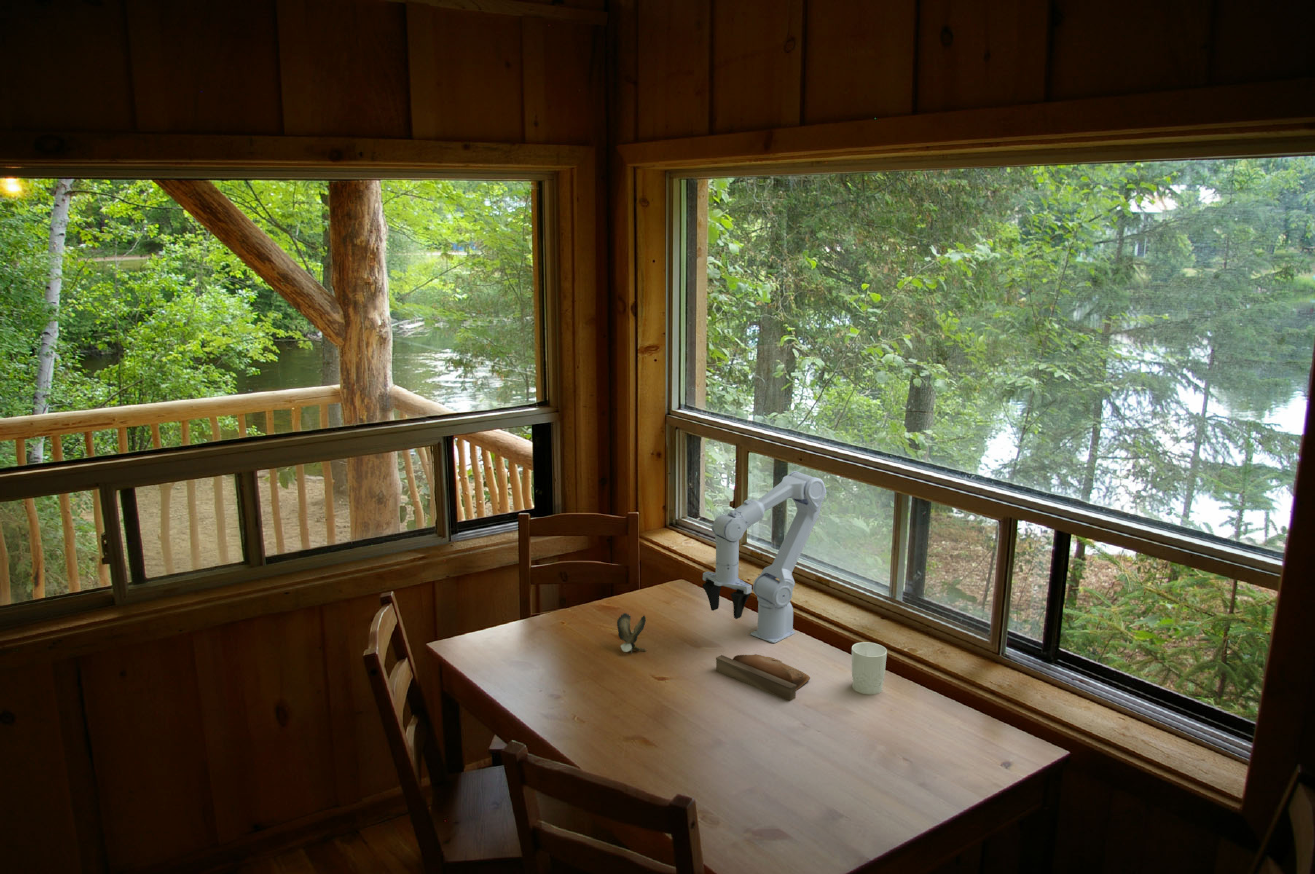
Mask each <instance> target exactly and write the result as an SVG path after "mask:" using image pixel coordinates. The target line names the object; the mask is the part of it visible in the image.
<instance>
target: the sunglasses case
mask: <svg viewBox="0 0 1315 874" xmlns="http://www.w3.org/2000/svg"><path fill="white" fill-rule="evenodd" d="M732 659H733V660H736V661H738V662H741V663H743V664H746V665H748V666H750V667H753V668H755V669H758V670H760V671H763V672H765V673H768V674H770V675H773V676H775V677H778V678H780V679H783V680H785V681H788V682H790V683H793V684H795V685H797V687H796V692H797V691H798V690H800V689H801V688H802V687H803V686H805V684H807V683H808V682H809V681H810V679H811V677H810V676H809V675H808V674H807V673H805V672H804V671H801V670H799V669H797V668H795V667H793V666H790V665H789V664H786V663H783V661H782V660H779V659H777V658H774V657H770V656H764V655H761V654H756V653H755V654H737V655H735V656H733V657H732Z"/></svg>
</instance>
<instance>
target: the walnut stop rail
mask: <svg viewBox="0 0 1315 874" xmlns="http://www.w3.org/2000/svg"><path fill="white" fill-rule="evenodd" d="M715 660H716V662H715V665H716V668H715V669H716V671H717V672H719V673H721V674H723V675H726V676H728V677H731V678H733V679H736V680H738V681H740V682H743V683H745V684H747V685H750V686H753V687H755V688H757V689H760V690H762V691H765V692H767V693H769V694H772V695H774V696H776V697H778V698H779V697H780V698H782V699H784V700H786V701H789V702H791V701H793V700H795V699H796V696H797V695H796V694H797V691H796V687H797V685H795V684H793V683H790V682H788V681H785V680H783V679H780V678H778V677H775V676H773V675H770V674H768V673H765V672H763V671H760V670H758V669H755V668H753V667H750V666H748V665H746V664H743V663H741V662H738V661H736V660H733V658H731V657H727V656H725V655H722V654H721V655H719V656H716V657H715Z"/></svg>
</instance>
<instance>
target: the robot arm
mask: <svg viewBox="0 0 1315 874" xmlns="http://www.w3.org/2000/svg"><path fill="white" fill-rule="evenodd" d="M827 492H828V491H827V489H826V486H825V483H824V480H822V479H821V478H819V477H814V476H811V475H809V474H805V473H803V472H802V473H801V471H797V470H795V471H791V472H790V473H788V475H785V476H783V477H782V480H781V482H779V483H778V484H777V485H775V486H774V487H773V488H772V489H770V490H769V491H767V492H766V493H765V494H763V495H762V496H761V497H760V498H758V499H757V500H756V499H752V498H751V499H746V500H744V501H743V503H742V504H741V505H739V506H738V507H736V508H735V509H731V510H729V513H727V514H726V513H725V514H720V515H718V516H717V517H716V518H715V519H714V521H713V524H712V525H711V532H712V534H714V537H715V538H714V539H715V572H713V571H705V572H703V573H702V580H703V581H704V583H702V588H703V590H704V591H705V593H706V594H705V595H706V596H707V599H708V602H709V605H710V610H711V611H713V612H714V611H716V610H718V609H719V607H720V593H721V590H722V589H721V588H722V586H723V587H726V588H729V589H732V590H736V591H734V592H731V593H730V597H731V599H732V604H733V619H735V620H738V619H741V617H742V616H743V611H744V608H745V605H746V603H747V601H748V599H749V597H750V596H751V594H752V591H753V593H754V595H755V596H756V597H757V599H756V600H757V601H758V603H757V604H758V607H757V630H754V631H752V632H750V636H753V637H755V638H758V639H760V640H764V641H766V642H769V643H772V644H775V643H778V642H780V641H782V640H784V639H786V638H788V637H791V636H792V635H795V634H796V631H795V630H793V629H794V626H793V625H794V608H793V605H792V603H791V600H792V598H793V591H794V587H795V586H796V581H795V579H794V577H793V574H792V573H793V571H794V569H795V567H796V565H797V562H798V560H799V558H800V556H801V554H802V553H803V550H804V547H805V546H806V543H807V542H808V539H809V537H810V536H811V532H812V531H813V528H814V527H815V524H816V522H817V520H818V518H819V516H820V514H821V510H822V504H823V503H822V502H823V501H824V499H825V496H826V494H827ZM788 499H791V500H792V501H793V503H794V504H795V508H796V510H797V511H796V514H795V515H794V518H793V520H792V522H791V524H790V526H789V527H788V528H789V529H788V530H787V532H786V534H785V537H784V539H783V541H782V542H781V545H780V547H779V549H778V552H777V553H776V556H775V557H774V560H773V562H772V564H770V565H768V566H765V567H764V568H763V569H762V571H761V572H760V574H759V575H758V576H757V577H756V578H755V579H754V581H753V583H752V584H749V583H748V582H745V581H744V580H742V579H740V578H739V559H740V556H739V554H740V553H739V550H740V540H741V539H742V538H743V536H744V534H745V532H746V531H747V529H749V528H750V527H752V526H753V525H754V524H756V523H758V522H759V521H761V520H762V519H764V516H765V512H767V511H768V510H771V509H772V508H774V507H775V506H777V505H779V504H781V503H782V502H785V501H786V500H788Z"/></svg>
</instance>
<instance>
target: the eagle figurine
mask: <svg viewBox="0 0 1315 874" xmlns="http://www.w3.org/2000/svg"><path fill="white" fill-rule="evenodd" d="M631 618H632V617H631V615H630V614H628V613H627V612H624V613H622V614H620V616H619V618H617V621H616V626H617V630H618V631H617V633H618V634H617V635H618V638H619V639H620V640H622V641H623V642H624V643H622V644H620V649H621V651H622V652H623V653H628V652H630V654H631V655H632V654H633V650H634V651H637V652H640V651H644V652H647V651H648V650H647V649H646V648H641V647H638V646H636V644H635V643H636V642H637V641H638V637H639V635H640V634H641V633H642V631H643V630H644V628H645V625H646V623H647V619H646V615H643V616H642V617H641V618H640V620H639V621H638V623H636V625H635V627H634V629H633V630H632V629H631Z"/></svg>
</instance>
